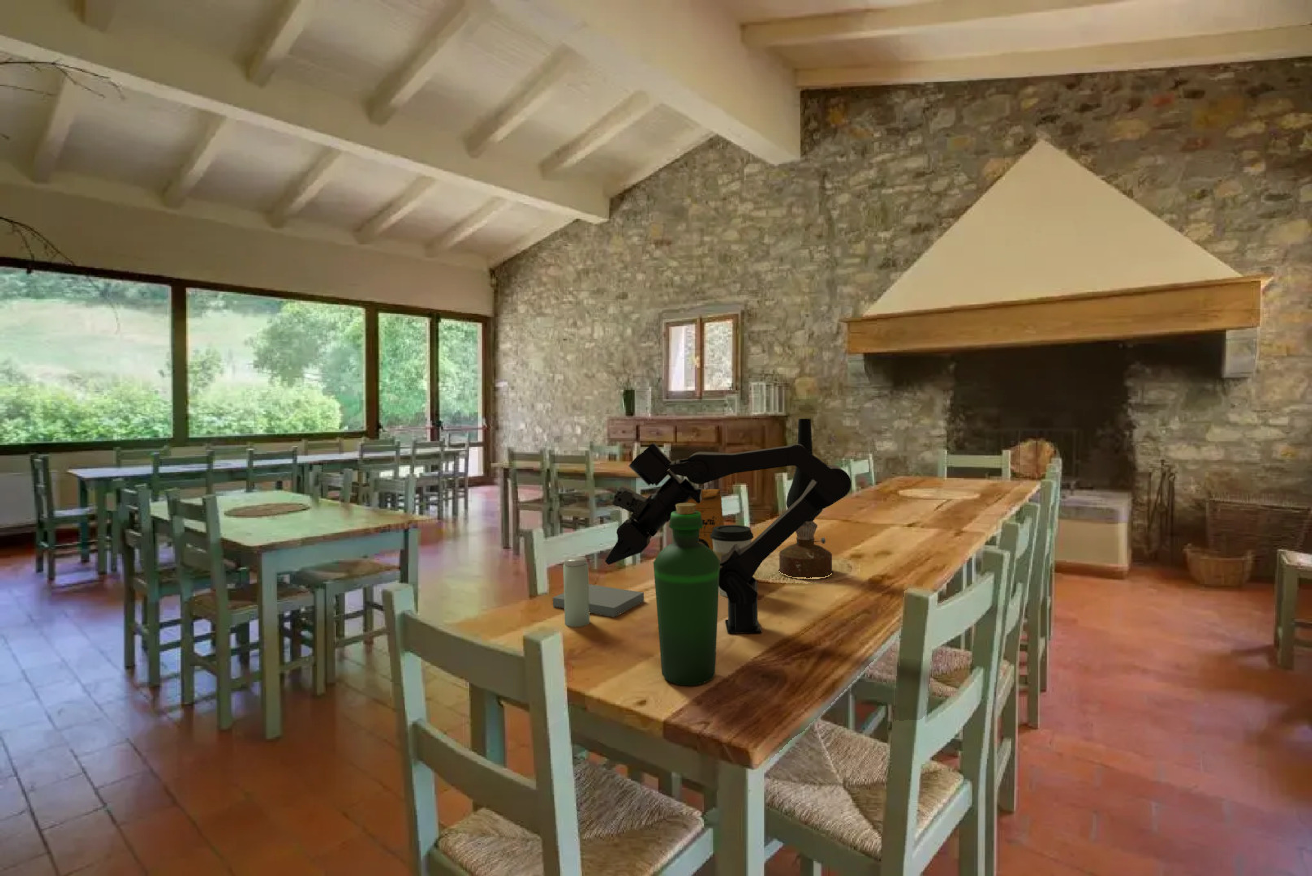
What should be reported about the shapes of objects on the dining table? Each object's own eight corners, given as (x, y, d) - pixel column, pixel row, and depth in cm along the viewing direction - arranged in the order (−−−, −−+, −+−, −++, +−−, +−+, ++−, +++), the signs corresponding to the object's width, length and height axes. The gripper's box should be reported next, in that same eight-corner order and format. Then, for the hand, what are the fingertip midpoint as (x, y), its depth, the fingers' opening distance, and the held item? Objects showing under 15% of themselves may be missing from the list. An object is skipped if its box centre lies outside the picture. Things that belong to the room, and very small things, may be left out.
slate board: (644, 601, 146) (643, 592, 146) (614, 617, 135) (614, 607, 135) (585, 591, 154) (585, 583, 153) (553, 606, 143) (552, 597, 143)
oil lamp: (797, 595, 159) (796, 437, 148) (765, 570, 173) (761, 423, 162) (845, 582, 164) (847, 427, 153) (809, 558, 177) (809, 415, 167)
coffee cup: (753, 587, 155) (752, 524, 154) (755, 599, 145) (754, 532, 144) (711, 586, 156) (710, 524, 155) (710, 599, 146) (709, 532, 145)
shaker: (587, 626, 130) (586, 562, 129) (562, 627, 130) (561, 562, 129) (591, 618, 135) (589, 556, 134) (567, 618, 135) (565, 556, 134)
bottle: (717, 661, 111) (714, 498, 110) (726, 689, 101) (723, 509, 99) (654, 664, 111) (651, 500, 109) (656, 692, 100) (653, 511, 99)
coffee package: (722, 580, 161) (721, 491, 160) (674, 577, 165) (672, 490, 164) (731, 570, 170) (730, 486, 169) (685, 567, 174) (684, 485, 173)
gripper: (644, 468, 138) (594, 519, 140) (627, 479, 120) (570, 538, 122) (682, 505, 137) (631, 556, 140) (670, 522, 119) (612, 581, 121)
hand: (611, 557), depth 131 cm, fingers open, 9 cm apart
